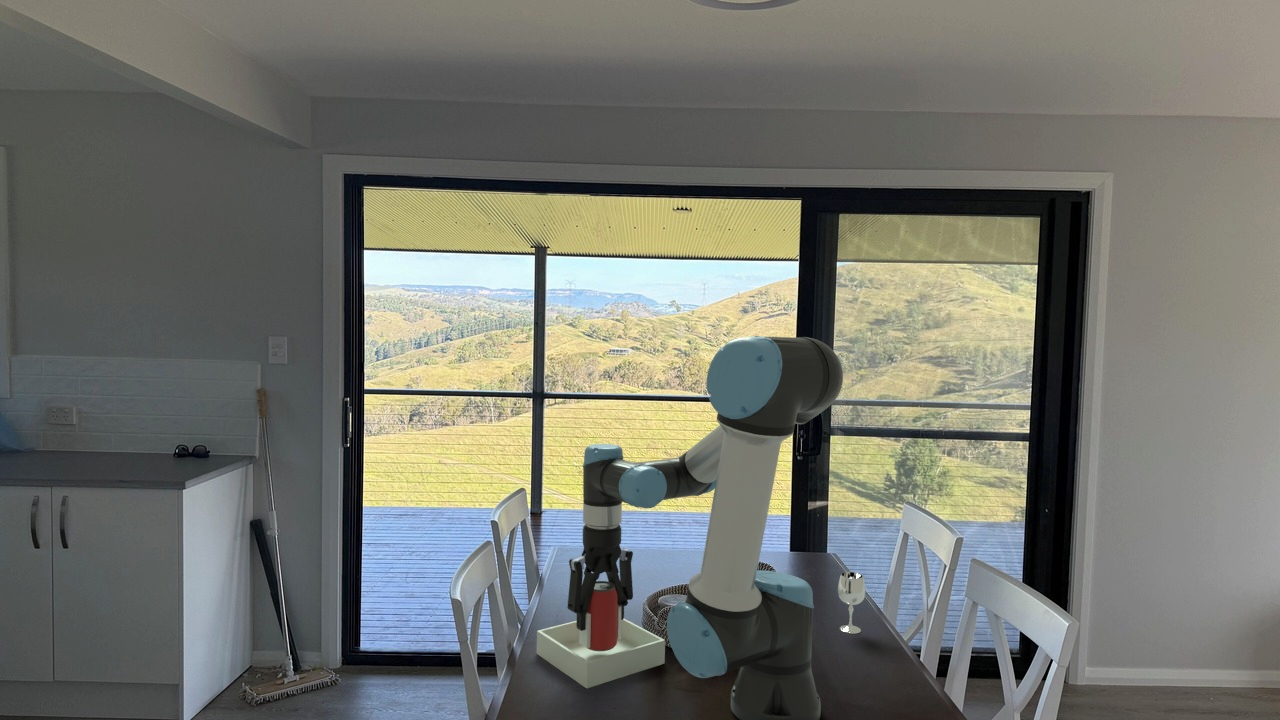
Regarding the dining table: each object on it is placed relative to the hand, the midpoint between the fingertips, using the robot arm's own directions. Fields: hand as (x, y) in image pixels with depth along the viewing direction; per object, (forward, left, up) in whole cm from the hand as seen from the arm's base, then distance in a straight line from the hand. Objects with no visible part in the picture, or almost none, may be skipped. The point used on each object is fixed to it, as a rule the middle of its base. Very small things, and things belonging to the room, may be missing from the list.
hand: (600, 640), depth 151 cm
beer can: (0, 0, -1) cm, 1 cm away
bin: (0, 0, -4) cm, 4 cm away
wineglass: (-19, -53, -4) cm, 56 cm away
